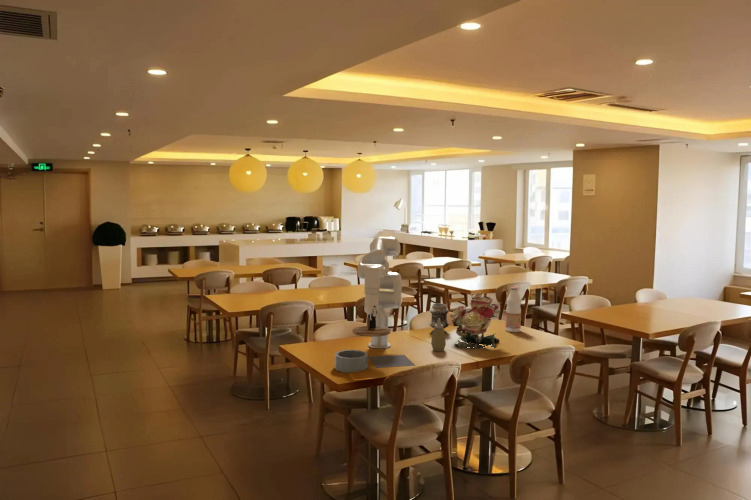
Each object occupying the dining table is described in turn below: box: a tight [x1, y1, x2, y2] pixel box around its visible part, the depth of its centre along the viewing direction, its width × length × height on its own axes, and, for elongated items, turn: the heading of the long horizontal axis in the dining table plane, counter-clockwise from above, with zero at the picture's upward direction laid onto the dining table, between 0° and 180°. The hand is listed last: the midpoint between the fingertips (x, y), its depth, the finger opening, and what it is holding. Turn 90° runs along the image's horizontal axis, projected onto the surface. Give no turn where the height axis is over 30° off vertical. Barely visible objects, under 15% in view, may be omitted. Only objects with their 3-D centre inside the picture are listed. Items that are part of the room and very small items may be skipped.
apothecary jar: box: [429, 303, 450, 335], centre depth 359 cm, size 12×12×18 cm
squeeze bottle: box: [431, 318, 447, 352], centre depth 317 cm, size 8×8×18 cm
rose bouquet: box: [449, 292, 501, 350], centre depth 330 cm, size 26×29×30 cm
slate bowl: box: [334, 349, 369, 374], centre depth 282 cm, size 16×16×7 cm
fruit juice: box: [505, 286, 522, 333], centre depth 366 cm, size 9×9×28 cm
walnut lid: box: [352, 318, 391, 338], centre depth 286 cm, size 19×19×7 cm
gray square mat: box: [368, 354, 416, 369], centre depth 293 cm, size 20×20×1 cm
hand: (371, 326), depth 286 cm, fingers closed on walnut lid, 3 cm apart
